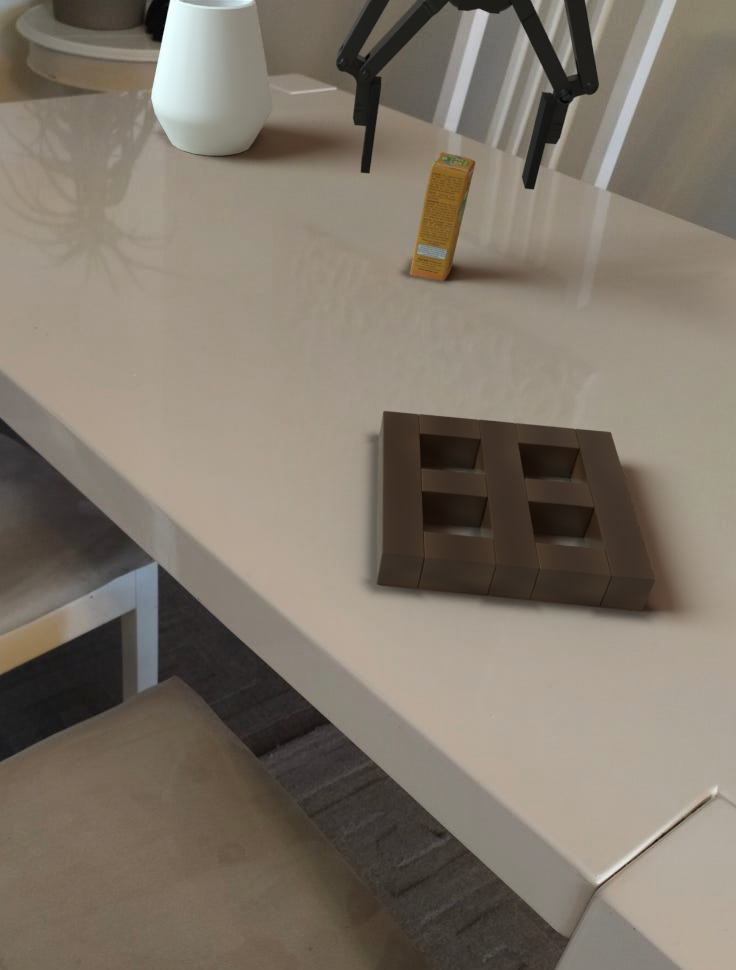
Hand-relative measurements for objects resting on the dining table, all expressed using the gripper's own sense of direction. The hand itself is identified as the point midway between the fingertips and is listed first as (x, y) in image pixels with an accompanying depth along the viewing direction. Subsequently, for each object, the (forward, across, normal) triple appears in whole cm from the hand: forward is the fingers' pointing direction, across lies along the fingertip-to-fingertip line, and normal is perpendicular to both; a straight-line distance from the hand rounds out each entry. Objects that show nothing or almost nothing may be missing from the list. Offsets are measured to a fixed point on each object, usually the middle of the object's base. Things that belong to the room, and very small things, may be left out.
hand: (446, 175), depth 81 cm
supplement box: (+9, 0, 0) cm, 9 cm away
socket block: (+9, +3, -36) cm, 37 cm away
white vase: (+9, -24, +31) cm, 40 cm away
